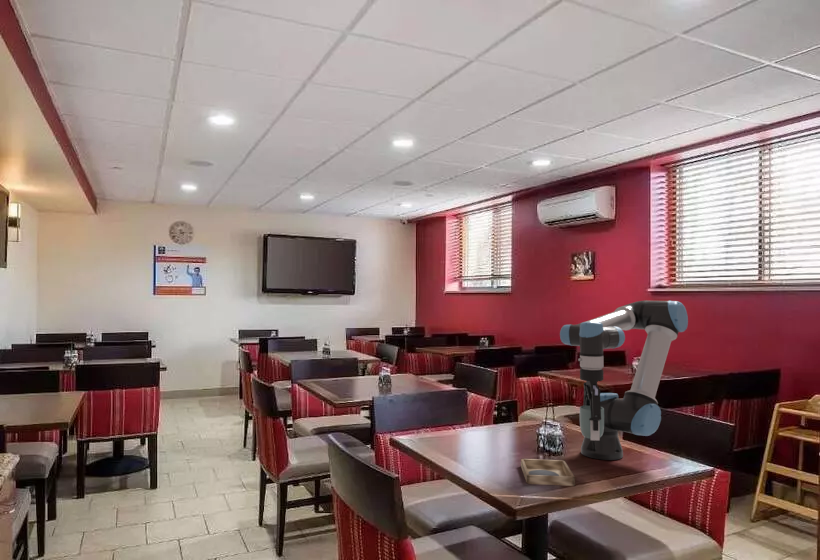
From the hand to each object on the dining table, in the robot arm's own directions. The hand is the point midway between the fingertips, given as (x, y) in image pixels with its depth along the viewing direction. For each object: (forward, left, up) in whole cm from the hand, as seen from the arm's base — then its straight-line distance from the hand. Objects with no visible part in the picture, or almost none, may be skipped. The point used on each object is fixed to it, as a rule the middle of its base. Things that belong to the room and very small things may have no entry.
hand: (592, 436), depth 192 cm
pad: (+16, +3, -13) cm, 21 cm away
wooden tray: (+15, +3, -13) cm, 20 cm away
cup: (0, 0, -1) cm, 0 cm away
